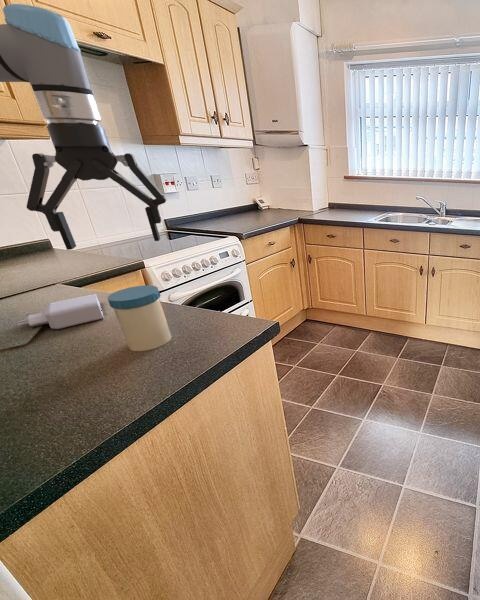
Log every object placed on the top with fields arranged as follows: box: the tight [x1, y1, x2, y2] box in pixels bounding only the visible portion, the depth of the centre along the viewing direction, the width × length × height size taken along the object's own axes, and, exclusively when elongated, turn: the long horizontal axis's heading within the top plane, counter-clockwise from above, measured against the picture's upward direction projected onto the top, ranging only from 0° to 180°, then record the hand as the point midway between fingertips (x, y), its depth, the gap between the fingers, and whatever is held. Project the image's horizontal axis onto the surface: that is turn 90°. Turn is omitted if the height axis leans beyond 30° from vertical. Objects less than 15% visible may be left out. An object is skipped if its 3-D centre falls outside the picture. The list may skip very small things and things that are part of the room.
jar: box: [113, 298, 173, 352], centre depth 73 cm, size 8×8×12 cm
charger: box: [16, 293, 105, 330], centre depth 83 cm, size 5×9×15 cm
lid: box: [107, 284, 161, 309], centre depth 71 cm, size 9×9×2 cm
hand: (116, 243), depth 67 cm, fingers open, 13 cm apart
